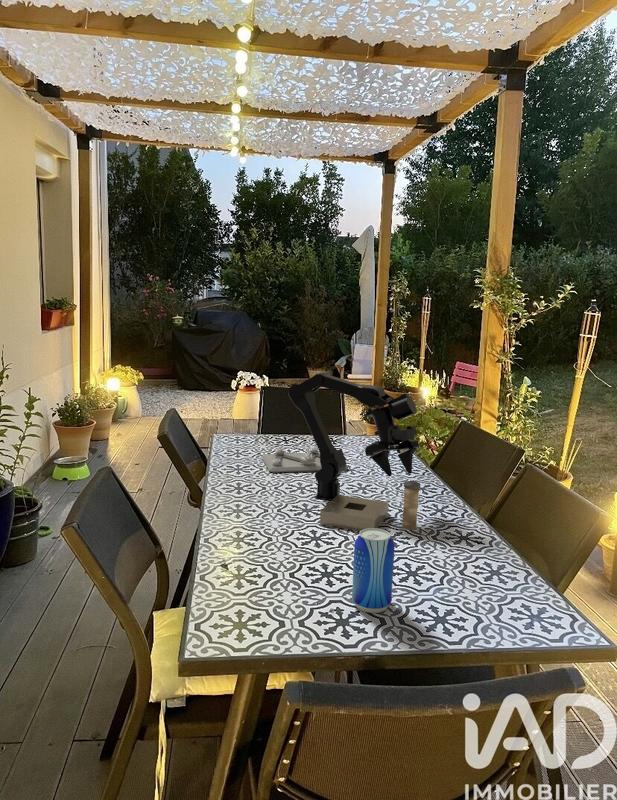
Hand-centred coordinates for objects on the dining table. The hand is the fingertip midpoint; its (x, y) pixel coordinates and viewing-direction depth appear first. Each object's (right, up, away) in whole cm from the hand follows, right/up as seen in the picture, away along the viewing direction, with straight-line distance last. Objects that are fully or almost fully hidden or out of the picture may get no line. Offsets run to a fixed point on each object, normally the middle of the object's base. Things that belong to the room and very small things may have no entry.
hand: (400, 474), depth 187 cm
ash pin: (+2, -14, -6) cm, 16 cm away
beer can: (-14, -22, -52) cm, 58 cm away
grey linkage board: (-29, -3, +56) cm, 63 cm away
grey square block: (-14, -13, -2) cm, 19 cm away
